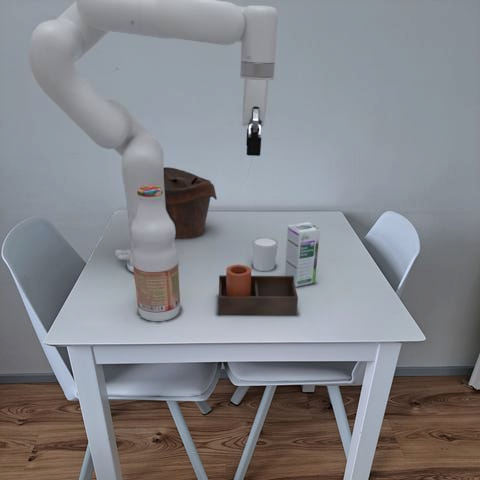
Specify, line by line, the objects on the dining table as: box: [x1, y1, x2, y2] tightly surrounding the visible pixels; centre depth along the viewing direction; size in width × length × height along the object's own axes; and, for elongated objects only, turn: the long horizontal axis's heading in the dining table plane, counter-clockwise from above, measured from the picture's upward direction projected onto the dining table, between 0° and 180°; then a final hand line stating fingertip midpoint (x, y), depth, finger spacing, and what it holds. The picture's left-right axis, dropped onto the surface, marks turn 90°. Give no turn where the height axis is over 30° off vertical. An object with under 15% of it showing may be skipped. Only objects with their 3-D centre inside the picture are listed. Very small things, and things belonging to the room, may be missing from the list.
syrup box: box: [284, 221, 321, 288], centre depth 122 cm, size 6×6×14 cm
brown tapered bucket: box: [163, 166, 218, 239], centre depth 148 cm, size 18×20×18 cm
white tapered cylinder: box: [251, 237, 279, 272], centre depth 130 cm, size 7×7×7 cm
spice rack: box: [218, 274, 299, 316], centre depth 113 cm, size 17×9×6 cm, turn 91°
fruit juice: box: [131, 185, 181, 322], centre depth 104 cm, size 9×9×28 cm
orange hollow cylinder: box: [225, 264, 252, 296], centre depth 112 cm, size 6×6×9 cm
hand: (253, 150), depth 119 cm, fingers open, 9 cm apart
